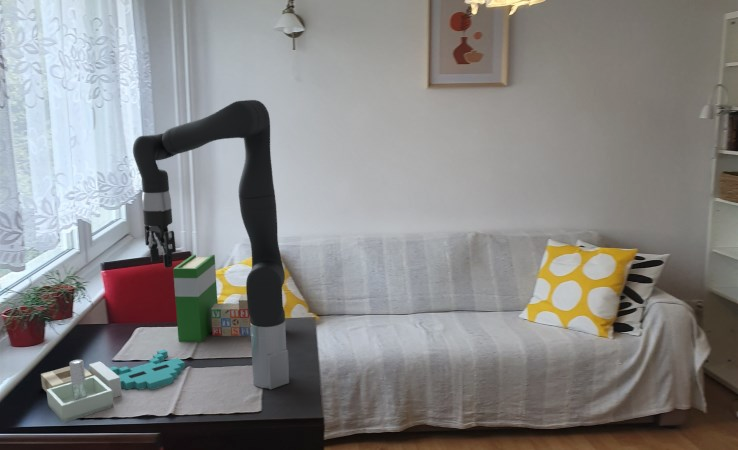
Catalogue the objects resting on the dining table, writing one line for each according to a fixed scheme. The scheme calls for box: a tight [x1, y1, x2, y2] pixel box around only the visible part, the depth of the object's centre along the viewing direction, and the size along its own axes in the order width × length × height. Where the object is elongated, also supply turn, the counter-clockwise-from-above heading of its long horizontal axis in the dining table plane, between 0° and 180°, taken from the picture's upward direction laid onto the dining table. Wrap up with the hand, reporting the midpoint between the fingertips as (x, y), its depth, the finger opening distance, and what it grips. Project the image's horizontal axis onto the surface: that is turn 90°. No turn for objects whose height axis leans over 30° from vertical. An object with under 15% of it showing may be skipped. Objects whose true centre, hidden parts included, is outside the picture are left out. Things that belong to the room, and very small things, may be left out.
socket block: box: [40, 365, 92, 393], centre depth 174 cm, size 10×10×4 cm
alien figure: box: [108, 348, 186, 391], centre depth 182 cm, size 20×2×20 cm
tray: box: [46, 376, 114, 424], centre depth 164 cm, size 12×12×4 cm
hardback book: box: [172, 254, 219, 343], centre depth 212 cm, size 18×7×24 cm, turn 175°
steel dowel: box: [68, 359, 87, 401], centre depth 163 cm, size 3×3×11 cm
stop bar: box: [88, 361, 123, 399], centre depth 174 cm, size 14×3×5 cm, turn 42°
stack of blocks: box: [211, 293, 251, 337], centre depth 213 cm, size 21×6×12 cm, turn 90°
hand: (161, 264), depth 183 cm, fingers open, 8 cm apart
